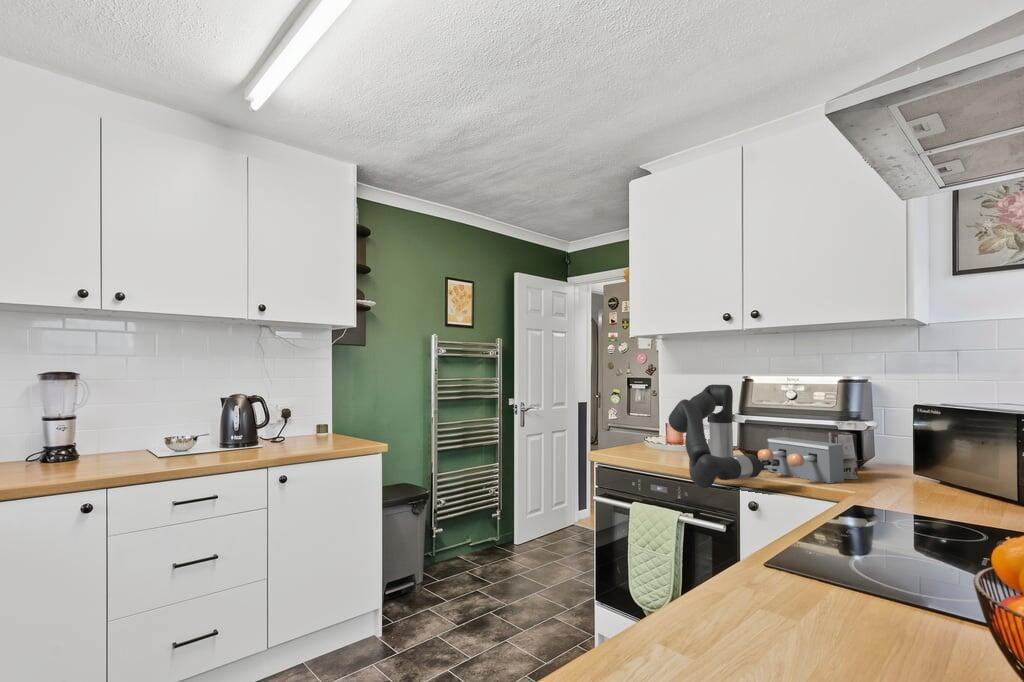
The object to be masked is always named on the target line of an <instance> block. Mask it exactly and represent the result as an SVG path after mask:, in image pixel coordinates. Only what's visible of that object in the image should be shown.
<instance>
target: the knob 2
mask: <svg viewBox="0 0 1024 682" xmlns="http://www.w3.org/2000/svg"><path fill="white" fill-rule="evenodd" d="M816 460H817V456H816V455H810V456H802V455H801V454H798V453H797V454H790V455H789V456H788V457H787V462H788V464H789V465H790V466H792V467H798V466H802V465H803V464H804V462H809V461H816Z"/></svg>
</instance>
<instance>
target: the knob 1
mask: <svg viewBox="0 0 1024 682" xmlns="http://www.w3.org/2000/svg"><path fill="white" fill-rule="evenodd" d="M786 455H787V453H786V451H776V452H772V451H771V450H769V448H766V449H765V448H764V449H760V450H758V452H757V458H762V459H768V460H770V459H773V458H774V457H781V456H786Z"/></svg>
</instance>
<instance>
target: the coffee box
mask: <svg viewBox="0 0 1024 682" xmlns="http://www.w3.org/2000/svg"><path fill="white" fill-rule="evenodd" d="M857 442H858V441H857V434H855V433H852V432H846V431H834V432H833V431H829V432H828V443H835V444H843V463H844V480H856V479H857V480H858V479H859V476H858V450H857V449H858V448H857V447H858V445H857Z"/></svg>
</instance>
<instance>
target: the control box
mask: <svg viewBox="0 0 1024 682" xmlns="http://www.w3.org/2000/svg"><path fill="white" fill-rule="evenodd" d="M767 442H768V449H769V450H771V451H772V452H776V451H786V453H787V455H786V456H781V457H774V458H773V459H778V460H779V461H780V465H779V466H777V471H776V472H775V471H773V470H771V469H769V470H768V472H769V471H770V472H769V473H771V472H775V473H774V474H776V473H781V474H785V475H784V476H786V475H790V476H789V477H792V476H795V477H794V478H797V477H800V478H799V479H802V478H805V479H804V480H807V479H810V480H809V481H813V480H815V481H814V482H818V481H821V482H820V483H823V482H826V483H825V484H828V483H832V484H834V483H833V482H838V483H840V482H839V481H844V482H845V479H844V463H843V444H835V443H829V442H825V441H817V440H808V439H800V438H792V437H783V436H781V437H780V436H779V437H769V438H767ZM797 453H798V454H801V455H802V456H810V455H816V456H817V460H816V461H809V462H804V464H803V465H802V466H798V467H792V466H790V465H789V464H788V462H787V457H788V456H789V455H790V454H797ZM781 474H780V475H781Z"/></svg>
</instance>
